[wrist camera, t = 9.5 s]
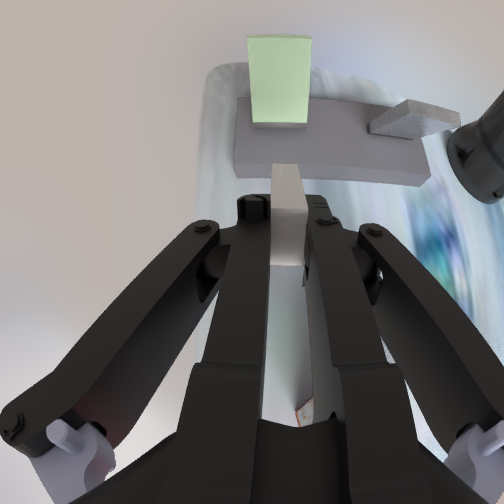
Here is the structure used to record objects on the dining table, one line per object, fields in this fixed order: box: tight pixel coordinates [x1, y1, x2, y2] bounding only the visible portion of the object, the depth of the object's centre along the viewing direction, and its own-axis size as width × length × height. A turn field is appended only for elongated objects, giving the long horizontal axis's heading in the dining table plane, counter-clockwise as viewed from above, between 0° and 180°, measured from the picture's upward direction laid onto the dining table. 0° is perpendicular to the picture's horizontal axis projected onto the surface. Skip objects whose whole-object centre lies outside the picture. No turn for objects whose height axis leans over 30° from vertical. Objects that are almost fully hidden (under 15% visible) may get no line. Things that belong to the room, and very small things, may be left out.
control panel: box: [233, 97, 431, 187], centre depth 36 cm, size 12×28×4 cm, turn 89°
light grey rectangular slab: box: [367, 99, 461, 141], centre depth 27 cm, size 2×7×13 cm, turn 87°
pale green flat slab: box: [247, 35, 312, 129], centre depth 29 cm, size 2×7×13 cm, turn 89°
